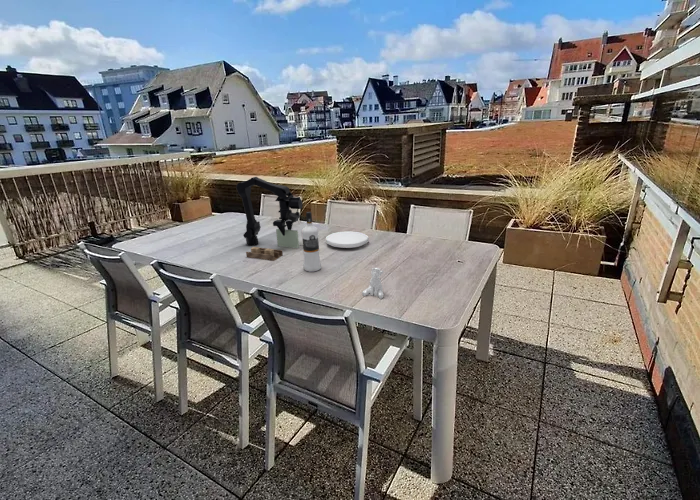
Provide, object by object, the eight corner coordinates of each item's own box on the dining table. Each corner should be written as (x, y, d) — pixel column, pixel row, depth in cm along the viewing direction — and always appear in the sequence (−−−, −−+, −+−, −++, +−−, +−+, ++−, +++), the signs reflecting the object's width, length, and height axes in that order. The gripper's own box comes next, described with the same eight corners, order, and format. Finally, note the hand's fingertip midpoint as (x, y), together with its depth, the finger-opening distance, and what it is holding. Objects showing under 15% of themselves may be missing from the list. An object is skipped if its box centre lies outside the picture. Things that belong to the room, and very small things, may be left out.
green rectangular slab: (277, 246, 213) (276, 229, 209) (279, 245, 214) (277, 228, 211) (297, 248, 208) (296, 231, 204) (299, 248, 209) (297, 230, 206)
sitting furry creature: (361, 296, 150) (361, 270, 146) (367, 287, 158) (367, 263, 154) (382, 299, 147) (382, 273, 143) (387, 290, 155) (388, 265, 150)
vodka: (320, 264, 185) (316, 209, 175) (322, 271, 177) (319, 213, 167) (302, 266, 183) (298, 210, 173) (304, 273, 175) (300, 215, 165)
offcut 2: (265, 258, 193) (264, 250, 191) (268, 256, 195) (267, 248, 194) (271, 259, 191) (270, 250, 190) (274, 257, 194) (273, 249, 192)
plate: (331, 229, 231) (371, 230, 226) (332, 238, 233) (371, 240, 227) (320, 237, 204) (364, 239, 199) (320, 248, 206) (364, 250, 201)
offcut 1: (251, 256, 196) (250, 248, 194) (255, 255, 198) (254, 246, 197) (257, 257, 194) (256, 249, 193) (260, 255, 197) (259, 247, 195)
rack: (246, 258, 196) (246, 252, 195) (256, 253, 204) (255, 247, 202) (274, 262, 190) (273, 255, 188) (282, 256, 197) (282, 250, 196)
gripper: (288, 213, 192) (290, 239, 197) (304, 205, 208) (306, 230, 214) (271, 211, 196) (273, 238, 201) (288, 204, 212) (290, 229, 217)
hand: (286, 233), depth 208 cm, fingers open, 6 cm apart
